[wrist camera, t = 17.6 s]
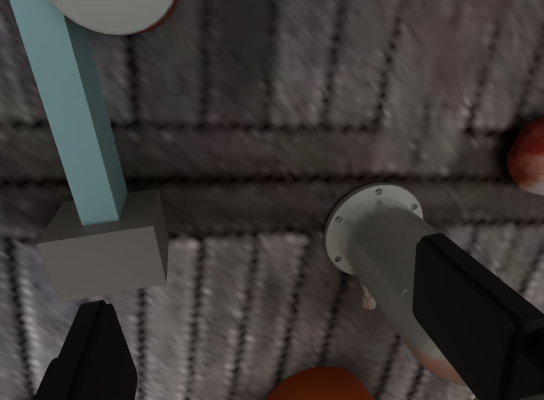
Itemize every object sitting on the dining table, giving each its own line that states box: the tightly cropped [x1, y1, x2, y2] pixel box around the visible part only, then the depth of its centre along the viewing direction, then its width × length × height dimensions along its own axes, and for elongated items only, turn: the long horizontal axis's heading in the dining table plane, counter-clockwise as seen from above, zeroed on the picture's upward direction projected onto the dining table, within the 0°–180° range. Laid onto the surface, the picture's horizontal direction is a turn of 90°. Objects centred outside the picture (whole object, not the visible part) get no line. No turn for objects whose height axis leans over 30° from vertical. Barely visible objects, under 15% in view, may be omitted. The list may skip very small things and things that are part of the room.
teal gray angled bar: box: [10, 0, 169, 303], centre depth 31 cm, size 30×15×8 cm, turn 3°
